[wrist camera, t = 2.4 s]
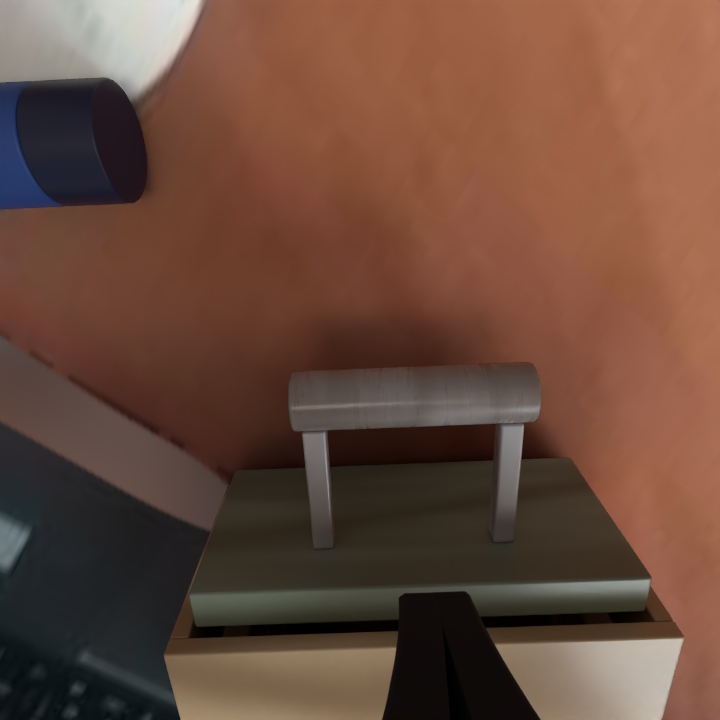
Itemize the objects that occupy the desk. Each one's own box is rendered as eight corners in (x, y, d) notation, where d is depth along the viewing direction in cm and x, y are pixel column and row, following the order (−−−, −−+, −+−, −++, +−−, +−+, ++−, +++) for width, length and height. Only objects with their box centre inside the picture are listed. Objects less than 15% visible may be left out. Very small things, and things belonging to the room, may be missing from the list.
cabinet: (227, 485, 19) (162, 655, 13) (575, 472, 19) (686, 637, 13) (267, 721, 25) (235, 927, 18) (542, 712, 24) (608, 916, 18)
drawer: (212, 328, 16) (145, 411, 11) (589, 312, 16) (697, 389, 11) (273, 708, 23) (249, 867, 18) (538, 699, 23) (589, 857, 18)
